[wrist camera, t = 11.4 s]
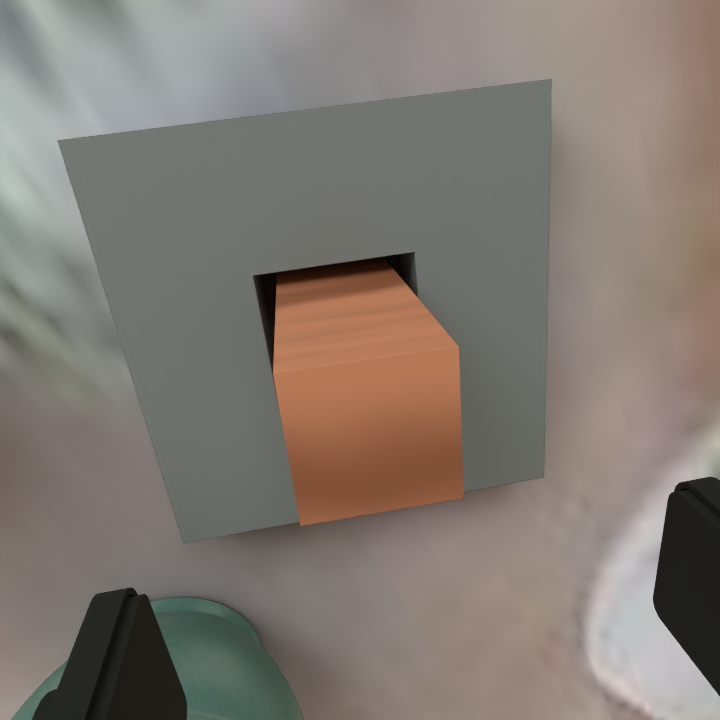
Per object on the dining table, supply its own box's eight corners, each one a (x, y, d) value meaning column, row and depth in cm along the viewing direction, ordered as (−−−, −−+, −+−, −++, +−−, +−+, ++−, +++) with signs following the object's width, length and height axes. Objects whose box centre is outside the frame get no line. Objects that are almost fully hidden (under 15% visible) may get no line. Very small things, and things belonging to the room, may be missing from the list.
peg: (277, 270, 25) (273, 373, 14) (382, 256, 26) (458, 346, 15) (293, 368, 27) (300, 526, 16) (391, 353, 28) (463, 498, 17)
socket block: (90, 140, 22) (57, 140, 19) (514, 86, 24) (551, 79, 20) (194, 498, 29) (183, 543, 26) (516, 441, 31) (543, 477, 27)
